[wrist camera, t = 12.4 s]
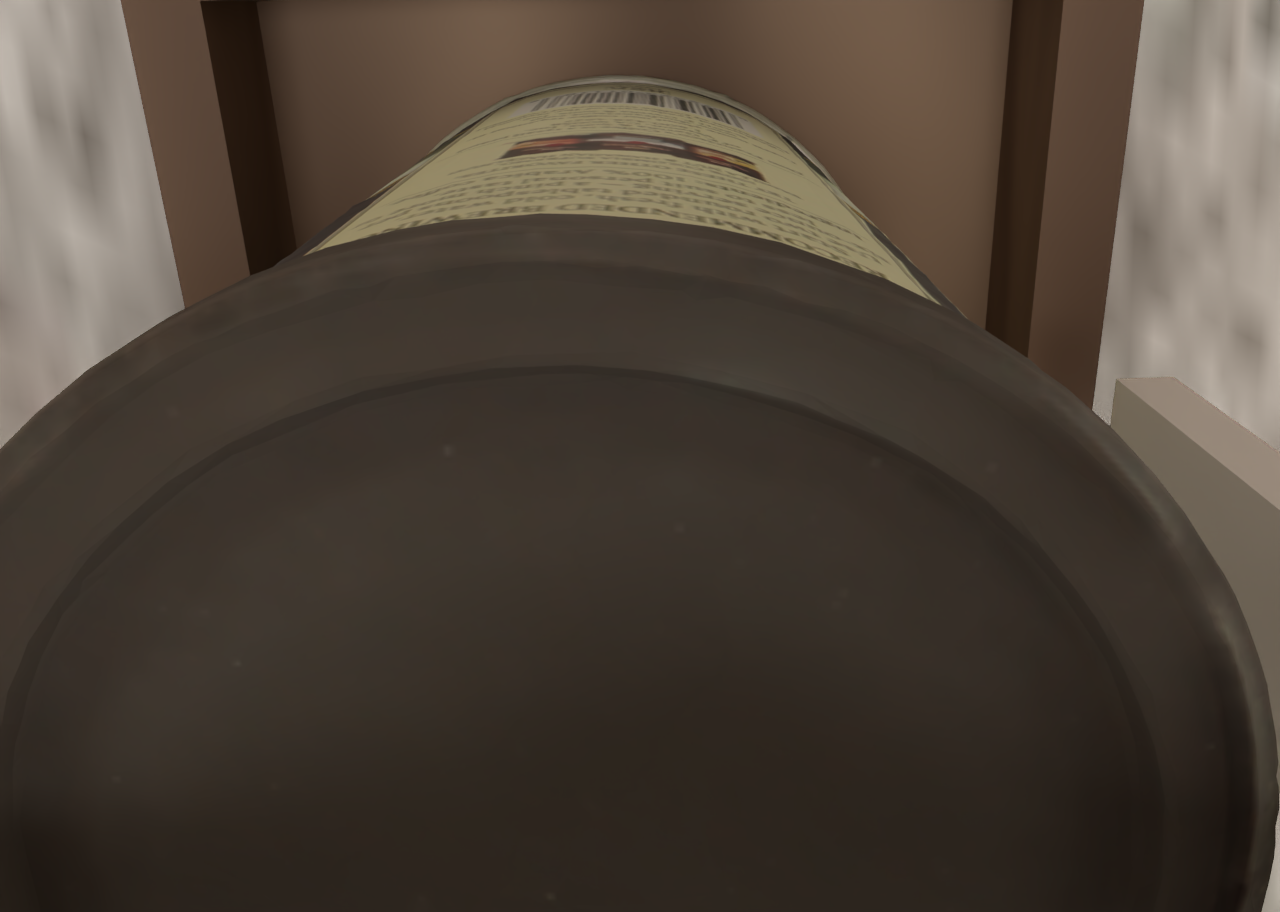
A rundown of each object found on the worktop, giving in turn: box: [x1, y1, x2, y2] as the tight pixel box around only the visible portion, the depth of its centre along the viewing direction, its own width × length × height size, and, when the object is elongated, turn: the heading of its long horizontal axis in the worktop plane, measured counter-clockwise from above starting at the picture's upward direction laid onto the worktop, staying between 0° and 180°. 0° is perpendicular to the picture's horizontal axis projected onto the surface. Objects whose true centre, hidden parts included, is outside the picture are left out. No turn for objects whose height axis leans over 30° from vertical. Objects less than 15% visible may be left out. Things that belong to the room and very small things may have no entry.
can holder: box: [121, 0, 1144, 410], centre depth 20 cm, size 17×17×4 cm
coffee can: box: [0, 75, 1279, 912], centre depth 15 cm, size 10×10×14 cm
